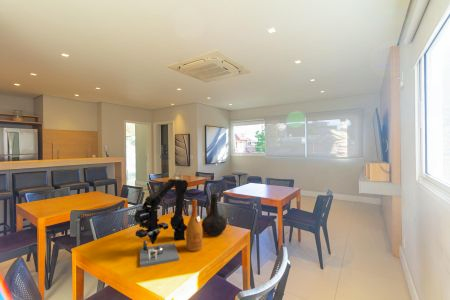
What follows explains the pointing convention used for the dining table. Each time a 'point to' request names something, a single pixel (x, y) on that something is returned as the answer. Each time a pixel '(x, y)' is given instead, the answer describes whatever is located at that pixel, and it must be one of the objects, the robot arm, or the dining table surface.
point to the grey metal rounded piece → (158, 248)
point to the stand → (158, 255)
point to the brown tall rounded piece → (194, 230)
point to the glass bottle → (214, 219)
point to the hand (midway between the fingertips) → (152, 243)
